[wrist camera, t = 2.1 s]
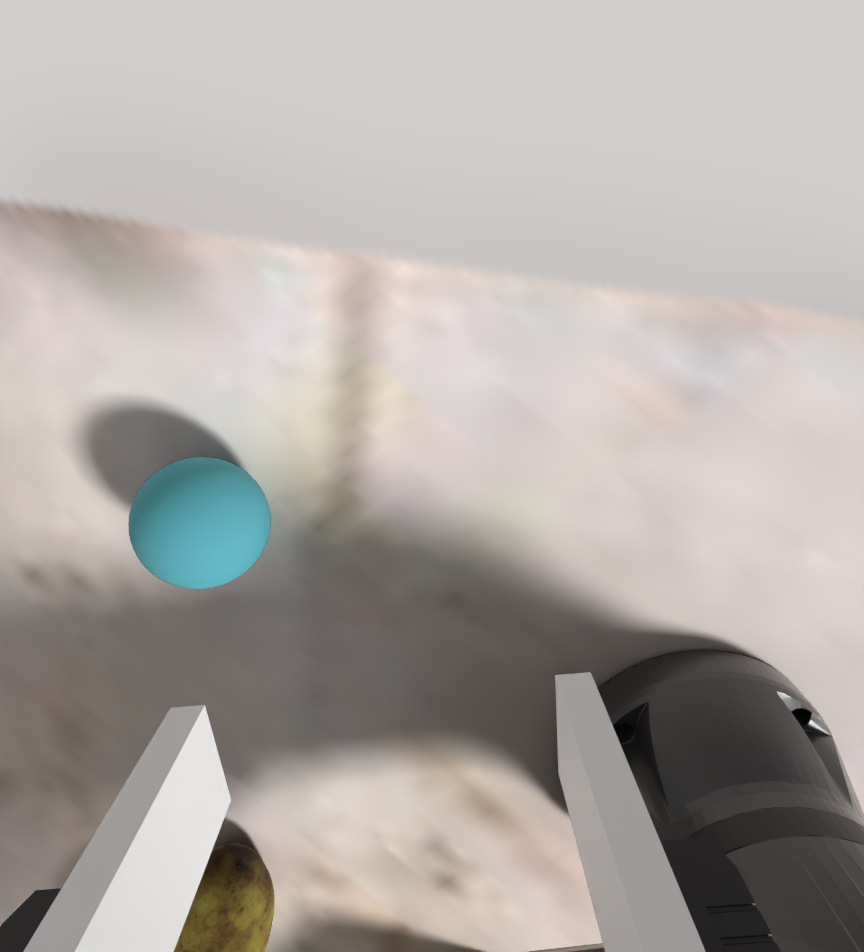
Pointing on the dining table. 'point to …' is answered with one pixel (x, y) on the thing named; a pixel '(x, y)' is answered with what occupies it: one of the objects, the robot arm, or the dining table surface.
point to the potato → (230, 904)
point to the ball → (199, 523)
